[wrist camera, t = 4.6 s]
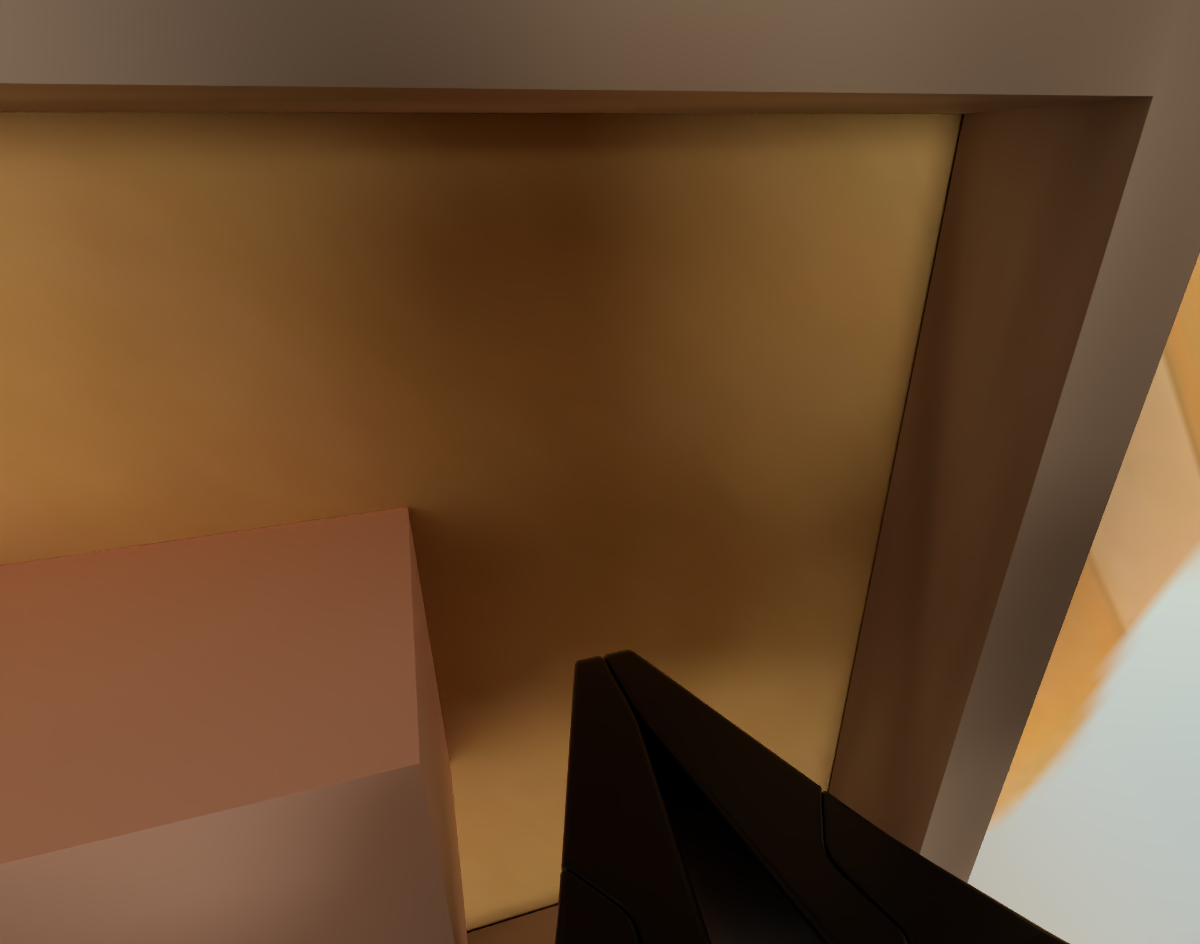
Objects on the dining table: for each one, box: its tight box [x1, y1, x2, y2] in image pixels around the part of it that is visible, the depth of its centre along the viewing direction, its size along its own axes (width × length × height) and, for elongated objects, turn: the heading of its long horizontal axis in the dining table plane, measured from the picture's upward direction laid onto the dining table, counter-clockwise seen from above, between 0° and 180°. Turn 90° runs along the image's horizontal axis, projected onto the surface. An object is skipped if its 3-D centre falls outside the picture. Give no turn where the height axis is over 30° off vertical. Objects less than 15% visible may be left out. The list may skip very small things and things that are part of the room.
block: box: [0, 507, 468, 944], centre depth 7 cm, size 5×5×4 cm
